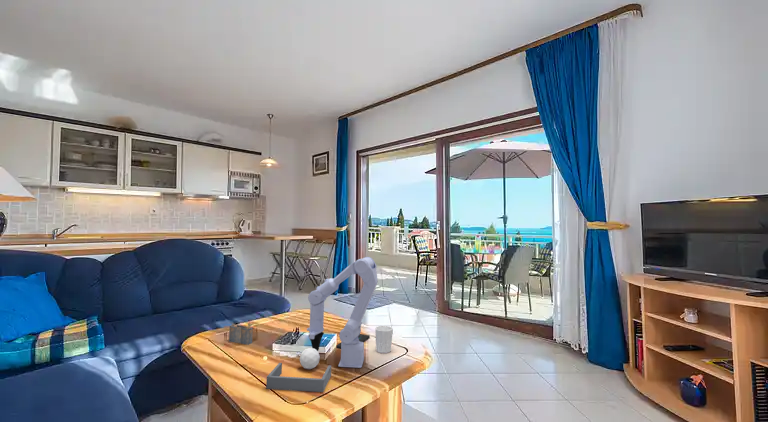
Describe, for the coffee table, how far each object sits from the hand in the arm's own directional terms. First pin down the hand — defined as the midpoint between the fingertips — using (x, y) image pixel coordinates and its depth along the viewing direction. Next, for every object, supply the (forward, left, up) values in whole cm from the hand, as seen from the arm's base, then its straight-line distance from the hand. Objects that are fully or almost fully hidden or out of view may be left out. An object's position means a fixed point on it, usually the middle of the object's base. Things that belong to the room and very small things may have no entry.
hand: (315, 350), depth 141 cm
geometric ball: (0, +9, -4) cm, 10 cm away
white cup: (-28, -13, -4) cm, 31 cm away
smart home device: (-13, -21, -4) cm, 25 cm away
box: (0, +21, -3) cm, 21 cm away
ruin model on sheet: (+40, -15, -4) cm, 43 cm away
